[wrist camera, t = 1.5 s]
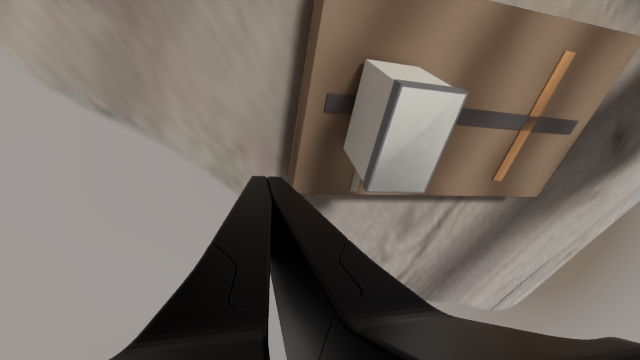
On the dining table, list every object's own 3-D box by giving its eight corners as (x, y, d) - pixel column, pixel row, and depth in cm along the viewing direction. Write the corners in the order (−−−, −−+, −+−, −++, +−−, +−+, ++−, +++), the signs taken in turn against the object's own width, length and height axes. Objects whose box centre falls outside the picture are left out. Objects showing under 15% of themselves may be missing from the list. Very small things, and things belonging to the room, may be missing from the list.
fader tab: (420, 65, 17) (469, 92, 13) (390, 152, 19) (424, 193, 16) (364, 56, 16) (401, 83, 12) (341, 149, 18) (366, 192, 15)
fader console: (613, 31, 21) (647, 37, 19) (519, 182, 27) (537, 197, 25) (320, -38, 15) (331, -37, 13) (287, 175, 21) (291, 194, 20)
